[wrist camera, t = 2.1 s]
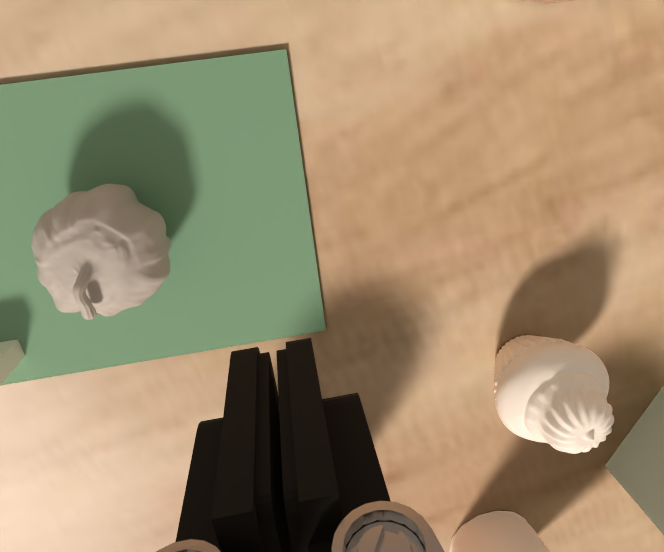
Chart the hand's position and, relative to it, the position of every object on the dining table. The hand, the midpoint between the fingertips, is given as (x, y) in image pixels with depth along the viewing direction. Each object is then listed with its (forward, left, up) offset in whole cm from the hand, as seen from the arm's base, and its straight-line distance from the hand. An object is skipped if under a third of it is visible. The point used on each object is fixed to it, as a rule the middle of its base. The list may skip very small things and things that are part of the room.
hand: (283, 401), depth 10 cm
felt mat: (+5, -10, -14) cm, 18 cm away
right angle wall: (+3, +34, -15) cm, 37 cm away
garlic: (+3, -6, -14) cm, 16 cm away
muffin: (+3, +17, -14) cm, 22 cm away
